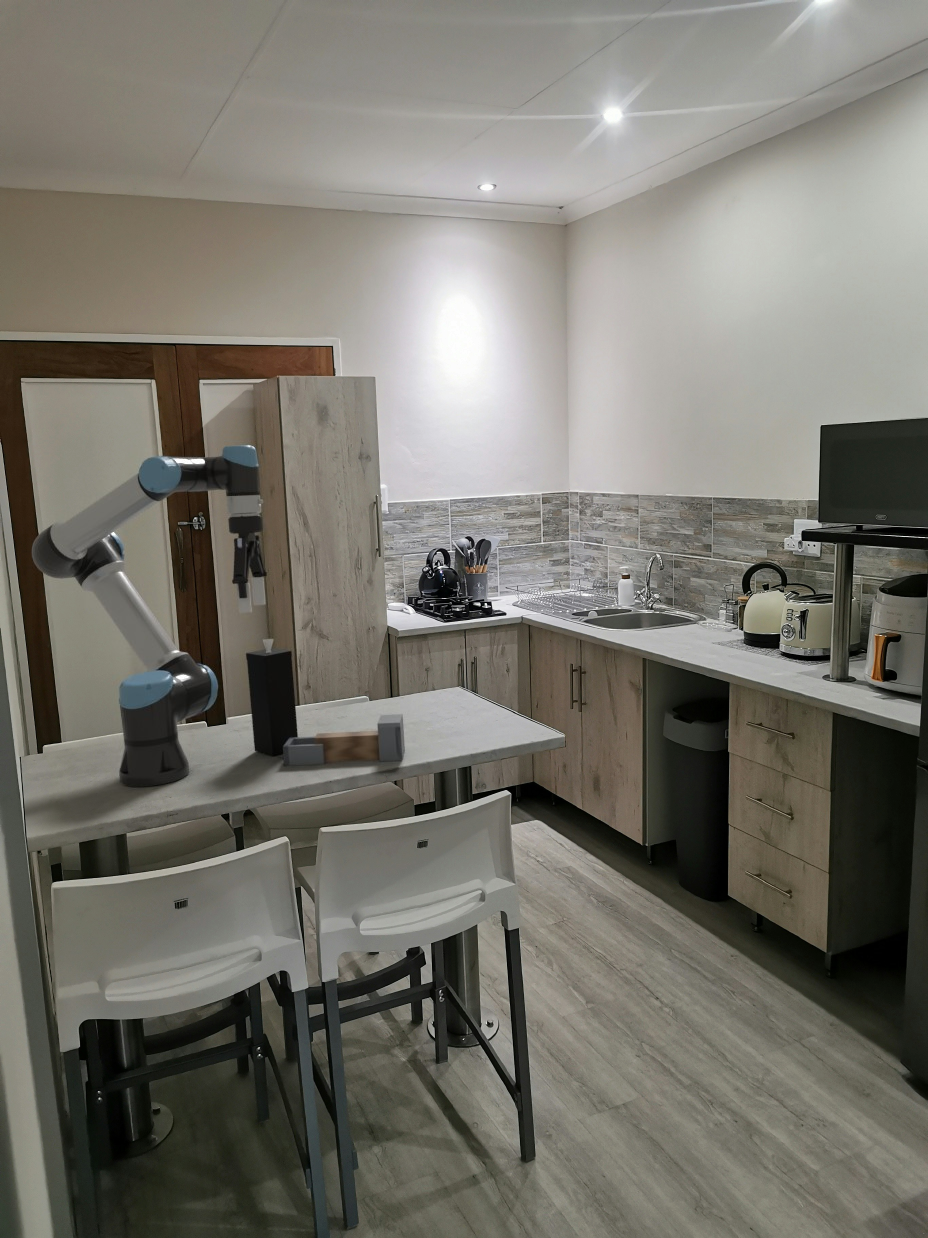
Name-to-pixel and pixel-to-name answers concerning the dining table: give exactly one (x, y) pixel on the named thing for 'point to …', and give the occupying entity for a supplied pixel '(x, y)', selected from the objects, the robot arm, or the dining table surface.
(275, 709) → the black tall block
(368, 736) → the brown wooden block
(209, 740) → the dining table surface
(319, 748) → the end cap
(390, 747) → the end cap
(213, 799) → the dining table surface
